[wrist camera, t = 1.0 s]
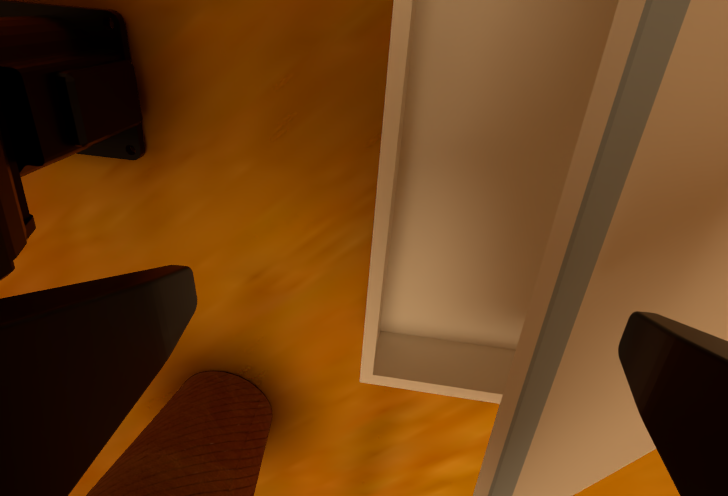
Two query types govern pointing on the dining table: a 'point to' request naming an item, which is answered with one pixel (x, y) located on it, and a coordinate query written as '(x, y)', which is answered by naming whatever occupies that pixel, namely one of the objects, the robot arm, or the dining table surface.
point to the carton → (471, 182)
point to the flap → (621, 250)
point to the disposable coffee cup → (197, 443)
